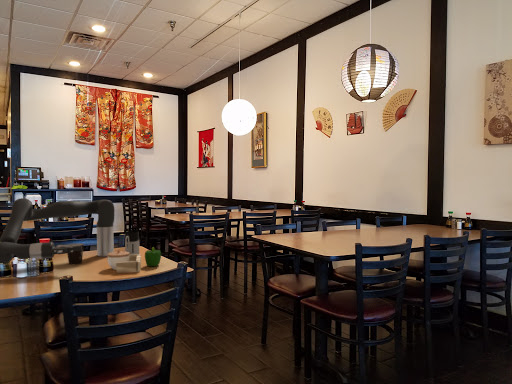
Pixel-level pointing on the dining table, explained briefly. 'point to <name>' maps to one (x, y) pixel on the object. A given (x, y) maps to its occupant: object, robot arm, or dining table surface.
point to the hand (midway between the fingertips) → (81, 248)
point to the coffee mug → (75, 255)
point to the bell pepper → (152, 257)
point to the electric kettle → (132, 242)
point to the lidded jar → (117, 258)
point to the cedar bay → (129, 264)
